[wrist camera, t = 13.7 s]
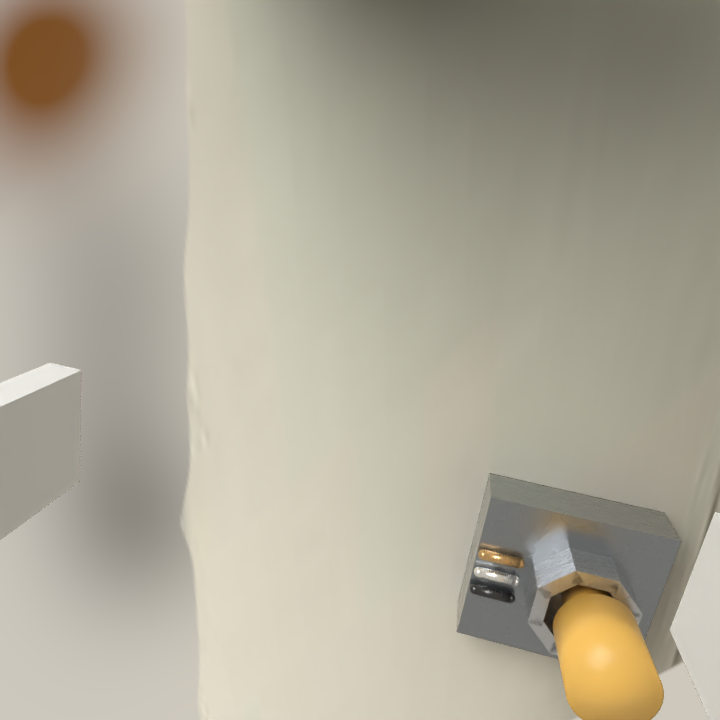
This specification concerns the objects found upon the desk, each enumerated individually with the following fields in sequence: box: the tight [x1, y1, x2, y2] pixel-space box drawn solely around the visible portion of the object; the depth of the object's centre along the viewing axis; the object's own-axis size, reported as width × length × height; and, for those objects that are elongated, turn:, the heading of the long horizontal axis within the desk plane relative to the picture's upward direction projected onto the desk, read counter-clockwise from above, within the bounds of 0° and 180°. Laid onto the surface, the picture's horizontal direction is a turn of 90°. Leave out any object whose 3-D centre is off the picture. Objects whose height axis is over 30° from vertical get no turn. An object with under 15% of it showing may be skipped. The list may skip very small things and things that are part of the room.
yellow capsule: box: [553, 585, 664, 720], centre depth 36 cm, size 5×5×8 cm
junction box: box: [457, 473, 681, 659], centre depth 40 cm, size 12×11×6 cm
